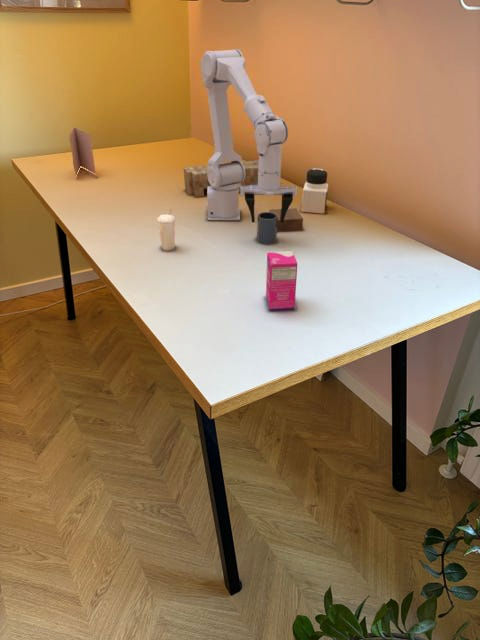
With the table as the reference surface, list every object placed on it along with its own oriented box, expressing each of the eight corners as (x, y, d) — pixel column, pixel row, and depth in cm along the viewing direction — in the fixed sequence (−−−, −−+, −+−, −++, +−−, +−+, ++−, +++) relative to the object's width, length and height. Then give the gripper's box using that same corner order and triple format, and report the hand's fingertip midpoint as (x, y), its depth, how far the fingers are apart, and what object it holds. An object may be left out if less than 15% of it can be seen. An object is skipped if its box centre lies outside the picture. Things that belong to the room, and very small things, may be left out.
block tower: (191, 200, 168) (274, 188, 175) (189, 174, 163) (275, 163, 171) (185, 192, 174) (266, 180, 182) (183, 167, 169) (266, 156, 177)
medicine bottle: (324, 214, 157) (328, 175, 151) (301, 212, 158) (304, 173, 152) (326, 205, 163) (330, 167, 156) (303, 203, 164) (306, 165, 158)
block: (274, 231, 146) (275, 220, 144) (268, 220, 152) (269, 209, 150) (302, 230, 147) (303, 218, 145) (295, 219, 154) (296, 208, 152)
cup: (257, 244, 139) (257, 219, 135) (256, 235, 143) (257, 211, 140) (276, 244, 139) (278, 219, 135) (275, 236, 143) (276, 212, 140)
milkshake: (181, 244, 138) (179, 208, 133) (172, 253, 134) (170, 216, 128) (165, 242, 139) (163, 206, 134) (156, 250, 135) (153, 214, 130)
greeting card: (78, 170, 189) (71, 127, 181) (99, 169, 190) (93, 127, 182) (73, 180, 180) (66, 135, 172) (95, 179, 181) (89, 135, 172)
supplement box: (264, 297, 116) (266, 251, 110) (290, 296, 116) (294, 250, 110) (267, 311, 111) (270, 263, 105) (295, 310, 112) (299, 263, 105)
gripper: (241, 175, 127) (240, 227, 135) (300, 175, 127) (296, 227, 135) (240, 166, 133) (240, 216, 141) (297, 166, 133) (293, 216, 141)
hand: (267, 221), depth 138 cm, fingers open, 7 cm apart
